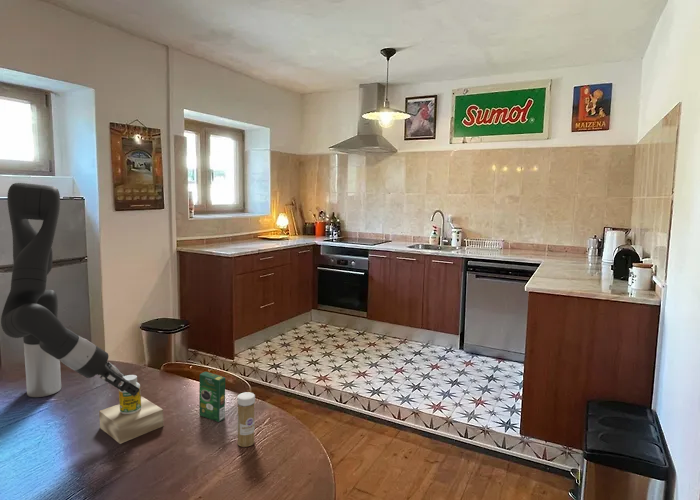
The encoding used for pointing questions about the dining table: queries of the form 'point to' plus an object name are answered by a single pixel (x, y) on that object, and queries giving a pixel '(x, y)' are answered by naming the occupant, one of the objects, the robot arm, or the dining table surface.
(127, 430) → the pale wooden block
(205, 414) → the coffee box
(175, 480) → the dining table surface
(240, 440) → the sprinkles bottle
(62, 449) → the dining table surface
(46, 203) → the robot arm
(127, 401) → the supplement bottle
